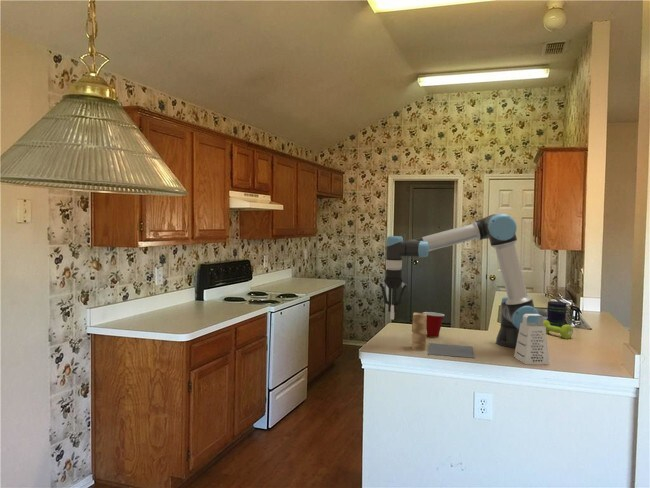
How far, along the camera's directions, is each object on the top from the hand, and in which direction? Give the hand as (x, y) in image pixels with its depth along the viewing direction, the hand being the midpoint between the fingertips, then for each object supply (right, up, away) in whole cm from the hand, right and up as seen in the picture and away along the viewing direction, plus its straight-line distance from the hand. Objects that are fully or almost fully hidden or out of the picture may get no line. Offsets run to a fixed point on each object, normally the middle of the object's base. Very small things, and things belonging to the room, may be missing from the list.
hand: (392, 318), depth 231 cm
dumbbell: (+90, -14, +29) cm, 96 cm away
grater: (+57, -15, -19) cm, 62 cm away
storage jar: (+99, -13, +46) cm, 110 cm away
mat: (+26, -14, -6) cm, 30 cm away
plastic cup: (+24, -13, +23) cm, 35 cm away
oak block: (+12, -13, -2) cm, 18 cm away
